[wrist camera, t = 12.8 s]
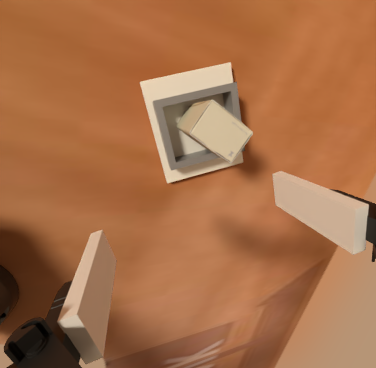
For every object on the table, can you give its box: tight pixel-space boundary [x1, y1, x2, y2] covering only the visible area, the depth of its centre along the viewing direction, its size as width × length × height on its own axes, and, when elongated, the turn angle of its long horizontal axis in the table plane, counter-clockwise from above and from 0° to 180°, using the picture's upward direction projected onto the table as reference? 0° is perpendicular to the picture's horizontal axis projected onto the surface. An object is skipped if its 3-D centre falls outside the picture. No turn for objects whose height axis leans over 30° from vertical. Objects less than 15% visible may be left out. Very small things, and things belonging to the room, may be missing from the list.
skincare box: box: [176, 100, 253, 163], centre depth 28 cm, size 6×4×12 cm
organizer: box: [140, 62, 245, 183], centre depth 33 cm, size 14×16×5 cm
